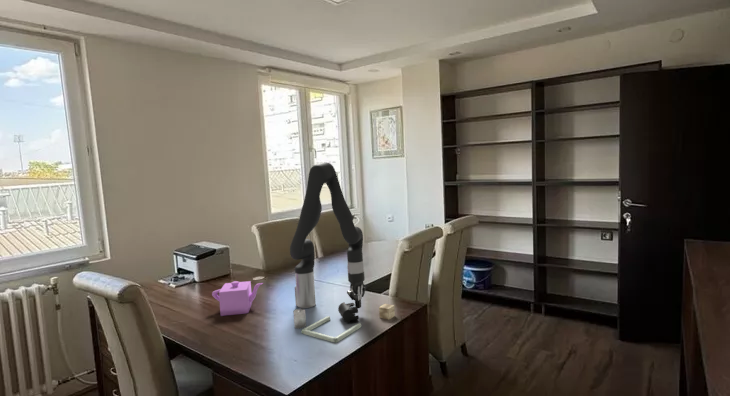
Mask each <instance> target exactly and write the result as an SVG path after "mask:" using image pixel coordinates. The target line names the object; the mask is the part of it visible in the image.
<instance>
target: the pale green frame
mask: <svg viewBox="0 0 730 396" xmlns="http://www.w3.org/2000/svg"><path fill="white" fill-rule="evenodd" d="M329 321H331V316H330V315H327V316H325V317H324V318H321V319H320V320H317V321H316V322H314V323H312V324H310V325H308V326H306V327H304V328H301V334H303V335H306V336H310V337H314V338H317V339H321V340H324V341H328V342H332V343H334V344H336V343H338V342H340V341H341V340H343V339H344V338H347V336H349V335H351V334H352V333H354V332H356V331H357V330H359V329H360V328H362V323H360V322H358V323H355V325H353V326H351V327H350V328H348V329H346V330H345V331H343V332H342V333H340V334H338V335H336V336H332V335H328V334H324V333H320V332H317V331H314V329H316V328H318V327H320V326H321V325H323V324H325V323H327V322H329ZM312 330H313V331H312Z"/></svg>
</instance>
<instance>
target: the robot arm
mask: <svg viewBox="0 0 730 396" xmlns="http://www.w3.org/2000/svg"><path fill="white" fill-rule="evenodd" d="M324 185H326V186H327V188H328V189H329V194H330V200H331V201H330V202H331V207H332V208H331V209H332V212H333V214H334V216H335V218H336V219H337V222H338V224H339V227H340V231H341V235H342V237H343V239H344V241H345V242H346V243H348V249H347V252H346V257H347V258H346V259H347V267H346V268H347V279H348V282H349V283H350V286H349V290H348V291H346V294H347V295H348V297H349V298H350V300H351V301H354V304H355V305H354V307H357V308H358V309H360V308H362V298H364V296H365V293H366V289H367V286H368V285H367V284H364V282H365V279H366V277H365V265H364V256H363V255H364V254H363V244H364V235H363V234H364V233H363V230H362V229H361V228H360V227H359V226H356V225H355V224H354V216H353V214H352V212H351V210H350V207H349V205H348V204H347V201H346V199H345V197H344V193H343V191H342V187H341V184H340V182H339V178H338V175H337V172H336V170H335V167H334V166H333V164H331V163H330V162H327V161H324V162H320V163H316V164H314V165H313V166H311V167H310V169H309V172H308V177H307V184H306V186H307V187H306V192H305V194H304V195H305V196H304V199H303V204H302V206H301V210H300V214H299V215H300V216H299V219H298V223H297V226H296V229H295V232H294V235H293V237H292V240H291V242H290V243H291V244H290V246H289V247H290V248H289V255H290V257H291V258H292V259H293V260H296V261H297V260H301V261H300V262H299V263H298V264H297V265H296V266H295V267H294V275H295V276H294V278H295V279H294V280H295V286H294V301H295V306H297V308H298V309H310V308H312V307H315V306H316V290H315V289H316V288H315V285H316V284H315V272H314V270H315V269H314V268H315V246H314V245H315V244H314V243H313V241H312V240H311V239H310V238H308V236H309V234H310V233H311V232H313V230H314V229H315V227H316V226H317V225H318V223H319V221H320V218H321V214H322V208H323V207H322V201H321V198H320V197H321V193H322V189H323V186H324Z"/></svg>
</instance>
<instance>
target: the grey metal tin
mask: <svg viewBox="0 0 730 396" xmlns="http://www.w3.org/2000/svg"><path fill="white" fill-rule="evenodd" d="M306 321H307V320H306V308H297V309H294V310H293V322H294V324H293V326H294V329H299V330H300V329H301V330H302V329H304V328H306V327H307V322H306Z"/></svg>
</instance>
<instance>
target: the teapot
mask: <svg viewBox="0 0 730 396" xmlns="http://www.w3.org/2000/svg"><path fill="white" fill-rule="evenodd" d="M251 282H252V281H251V280H248V281H247V280H246V281H237V280H234V281H232V282H225V283H224V284H223V285H222V287H221V288H219V289H216V290H214V291H212V292H211V296H212V297H213V298H214V299H215V300H216V301H218V302H219V310H220V311H219V313H220V317H223V316H234V315H242V314H249V312H250V310H251V307H252V305H253V301H254V300H255V298H256V296H257V293H258V289H259V288H260V286H261V285H263V284H264V282H259V283H256V284H255V285H254V287H253V290H252V283H251Z"/></svg>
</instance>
